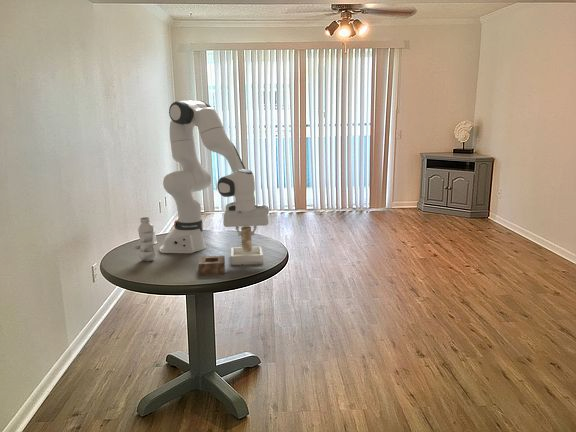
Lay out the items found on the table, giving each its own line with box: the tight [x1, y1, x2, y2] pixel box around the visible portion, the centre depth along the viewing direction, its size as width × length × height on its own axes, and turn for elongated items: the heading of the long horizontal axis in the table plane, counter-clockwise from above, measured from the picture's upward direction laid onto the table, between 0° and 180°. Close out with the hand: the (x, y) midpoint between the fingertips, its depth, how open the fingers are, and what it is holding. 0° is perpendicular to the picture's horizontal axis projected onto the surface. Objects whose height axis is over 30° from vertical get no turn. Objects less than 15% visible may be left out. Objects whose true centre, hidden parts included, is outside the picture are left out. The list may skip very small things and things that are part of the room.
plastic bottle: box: [137, 216, 156, 262], centre depth 215 cm, size 6×7×20 cm
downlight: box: [150, 223, 158, 245], centre depth 245 cm, size 8×7×10 cm
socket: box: [197, 255, 226, 277], centre depth 202 cm, size 10×10×5 cm
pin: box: [240, 226, 253, 252], centre depth 216 cm, size 4×4×11 cm
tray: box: [230, 245, 264, 266], centre depth 218 cm, size 14×14×4 cm
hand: (246, 235), depth 216 cm, fingers closed on pin, 4 cm apart
